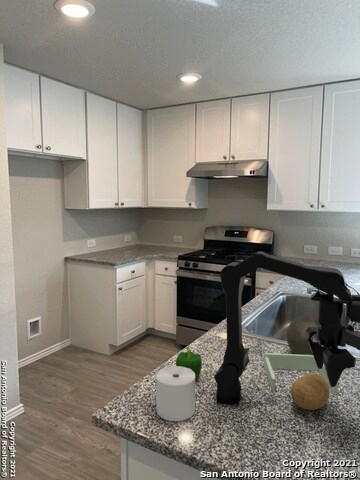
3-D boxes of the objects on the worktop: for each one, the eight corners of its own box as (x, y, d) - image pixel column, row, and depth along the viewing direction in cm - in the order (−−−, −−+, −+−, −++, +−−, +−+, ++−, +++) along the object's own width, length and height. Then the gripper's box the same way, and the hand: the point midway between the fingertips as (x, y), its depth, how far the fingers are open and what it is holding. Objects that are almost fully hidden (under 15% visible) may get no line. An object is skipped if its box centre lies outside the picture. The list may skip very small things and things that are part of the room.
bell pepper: (199, 386, 106) (200, 355, 105) (173, 383, 108) (173, 353, 107) (203, 373, 114) (203, 344, 113) (179, 371, 116) (179, 342, 115)
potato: (334, 400, 99) (335, 373, 98) (320, 424, 88) (322, 394, 87) (300, 388, 105) (301, 364, 104) (283, 410, 94) (284, 382, 93)
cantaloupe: (282, 360, 125) (283, 320, 123) (289, 346, 137) (290, 309, 135) (324, 368, 118) (326, 326, 116) (327, 353, 130) (329, 314, 129)
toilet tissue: (183, 426, 87) (183, 389, 86) (144, 412, 93) (144, 377, 92) (201, 405, 96) (201, 371, 95) (165, 394, 102) (165, 361, 101)
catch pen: (271, 391, 103) (272, 375, 103) (264, 366, 119) (264, 353, 119) (337, 395, 102) (338, 379, 101) (320, 369, 117) (321, 355, 117)
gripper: (381, 333, 77) (376, 399, 79) (346, 308, 96) (343, 361, 97) (330, 331, 78) (326, 396, 79) (306, 307, 96) (303, 360, 98)
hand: (326, 377), depth 88 cm, fingers open, 9 cm apart
